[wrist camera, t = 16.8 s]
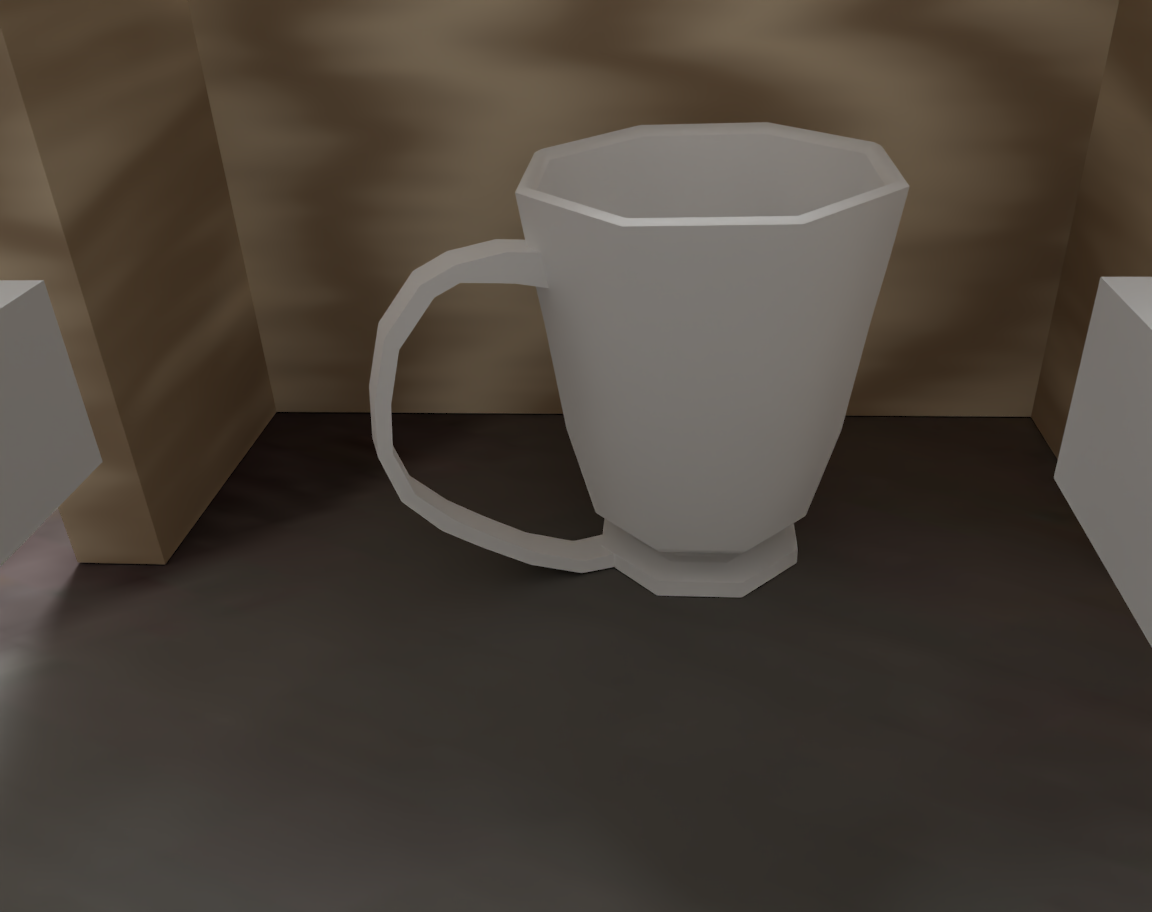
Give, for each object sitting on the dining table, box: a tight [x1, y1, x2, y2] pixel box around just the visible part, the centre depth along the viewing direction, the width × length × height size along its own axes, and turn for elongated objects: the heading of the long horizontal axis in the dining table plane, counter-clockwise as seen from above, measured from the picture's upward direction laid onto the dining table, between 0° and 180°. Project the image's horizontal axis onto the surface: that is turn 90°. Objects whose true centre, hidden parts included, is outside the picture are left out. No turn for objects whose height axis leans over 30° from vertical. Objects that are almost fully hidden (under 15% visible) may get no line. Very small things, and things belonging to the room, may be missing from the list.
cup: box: [369, 122, 910, 597], centre depth 20 cm, size 7×10×8 cm
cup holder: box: [0, 0, 1152, 564], centre depth 20 cm, size 24×9×19 cm, turn 85°
